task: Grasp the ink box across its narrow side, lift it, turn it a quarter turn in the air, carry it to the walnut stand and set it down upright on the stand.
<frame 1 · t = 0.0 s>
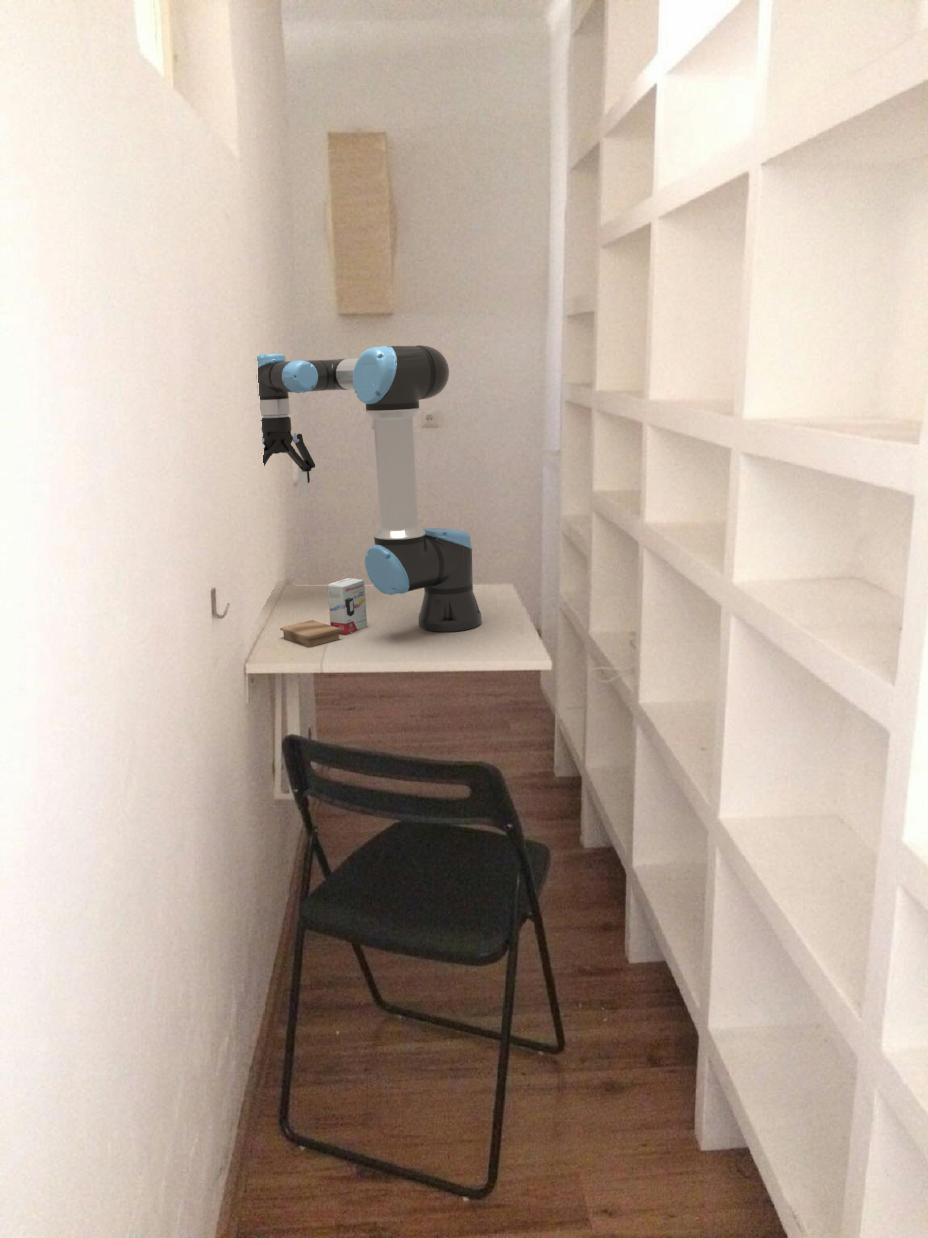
hand: (282, 499, 253), 28 cm above the table, fingers open, 13 cm apart
ink box: (349, 630, 232), on the table
walnut stand: (311, 638, 226), on the table
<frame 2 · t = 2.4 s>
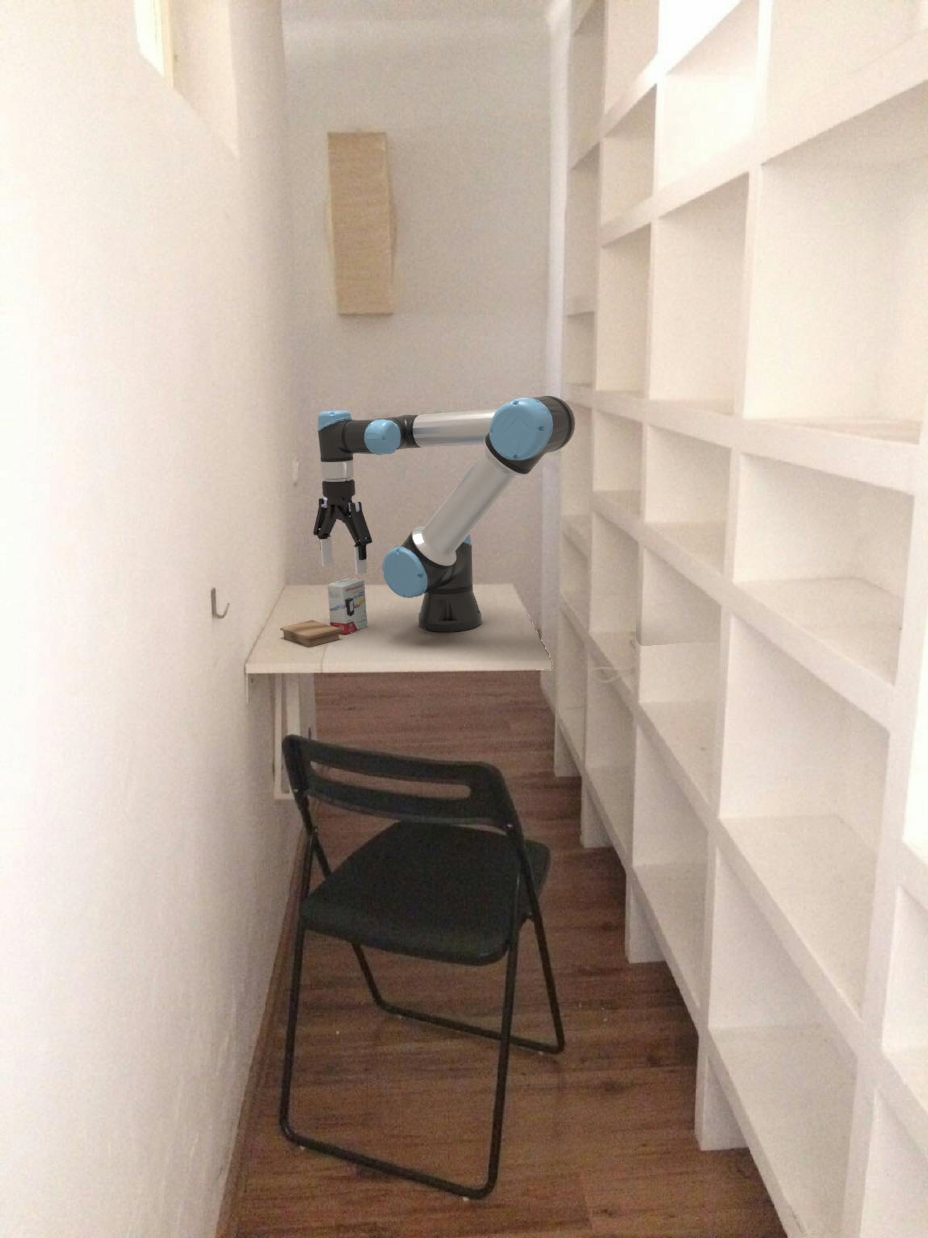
hand: (344, 569, 228), 15 cm above the table, fingers open, 13 cm apart
nothing on the table moved.
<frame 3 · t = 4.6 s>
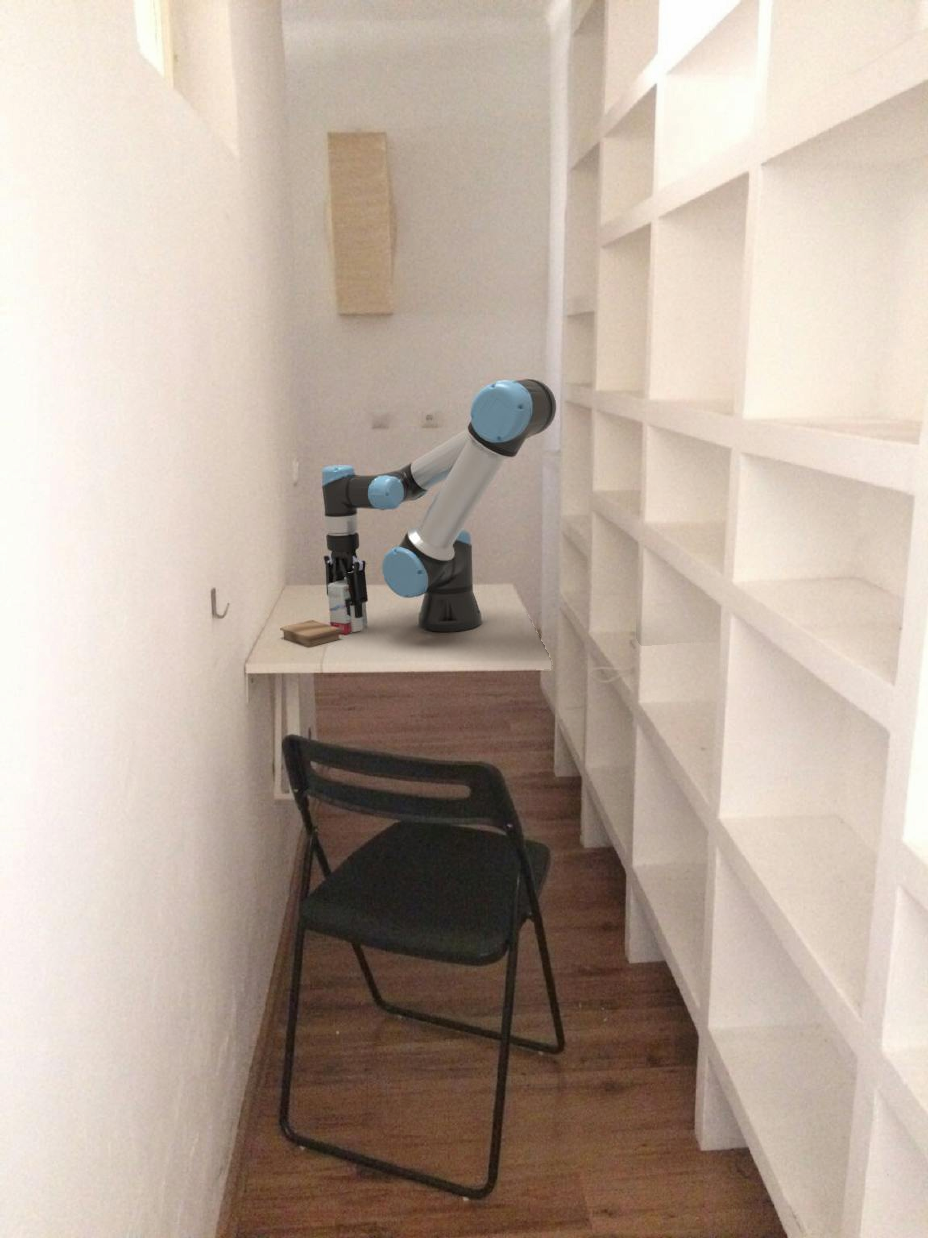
hand: (349, 627, 232), 0 cm above the table, fingers closed on ink box, 6 cm apart
ink box: (349, 630, 232), on the table, touching gripper
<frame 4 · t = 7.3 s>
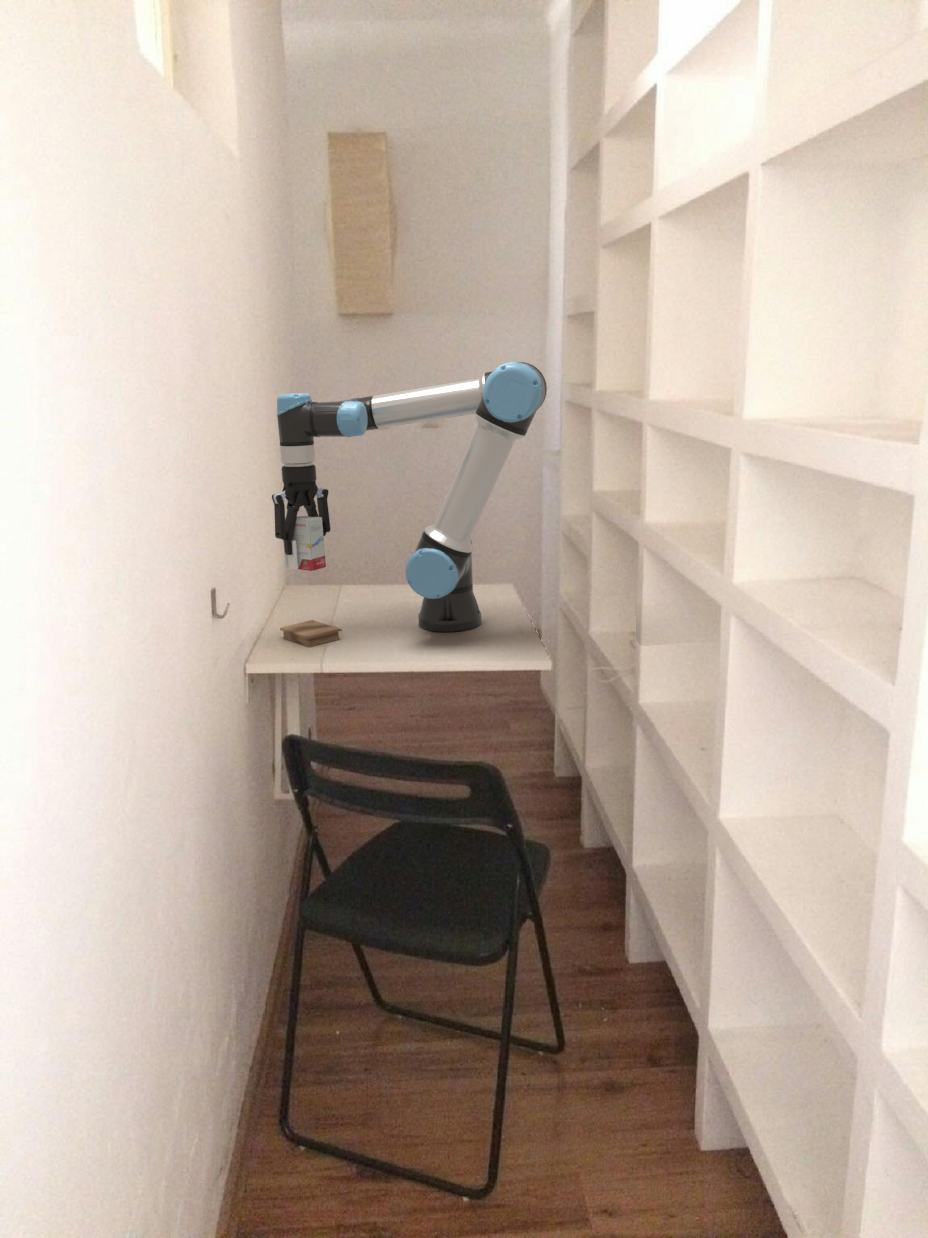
hand: (305, 566, 222), 17 cm above the table, fingers closed on ink box, 6 cm apart
ink box: (305, 568, 222), point 17 cm above the table, touching gripper
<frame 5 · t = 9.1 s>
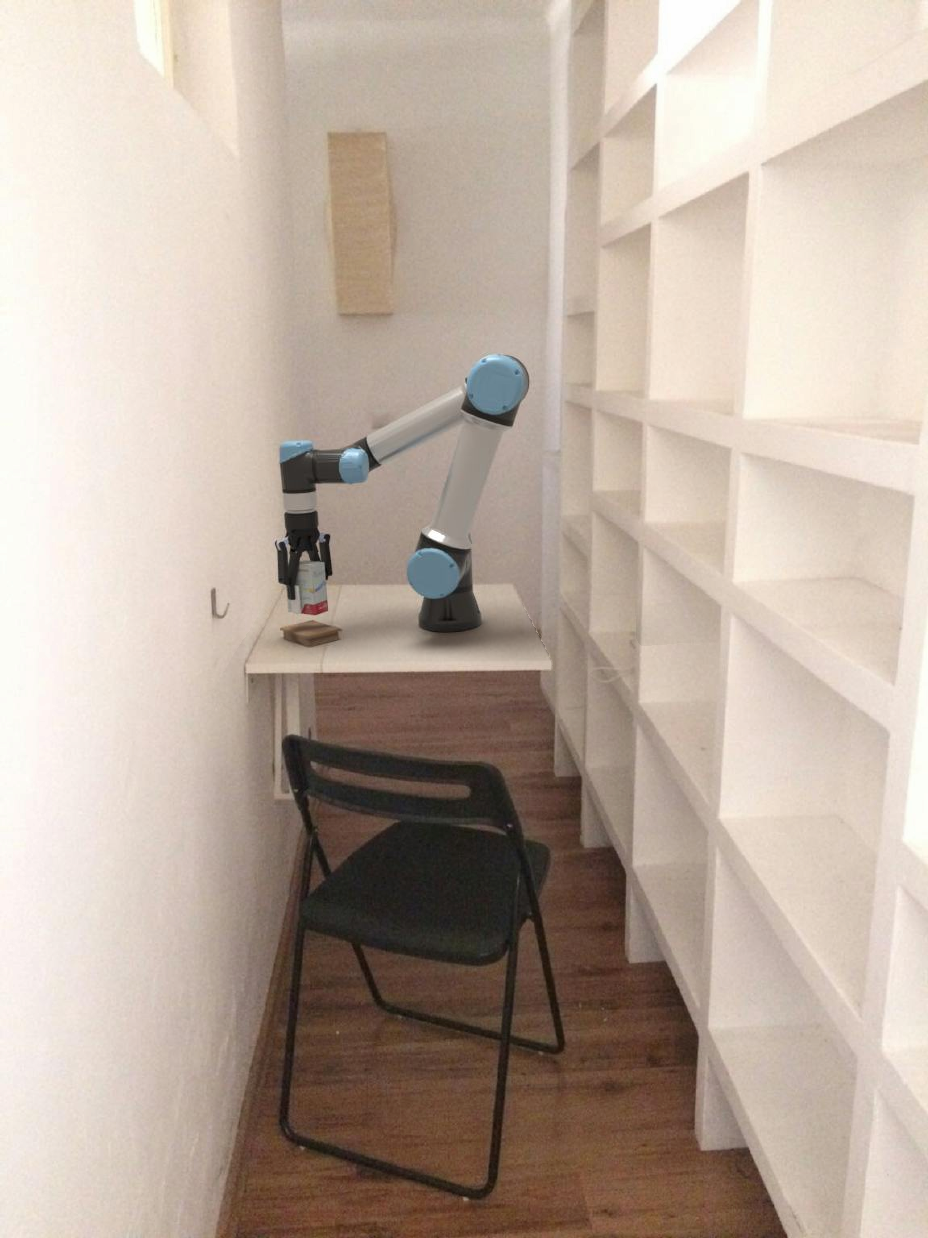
hand: (308, 609, 224), 7 cm above the table, fingers closed on ink box, 6 cm apart
ink box: (308, 612, 224), point 6 cm above the table, touching gripper
when the fingers open (4 cm above the table, at t = 10.4 s): ink box drops 1 cm, resting on walnut stand.
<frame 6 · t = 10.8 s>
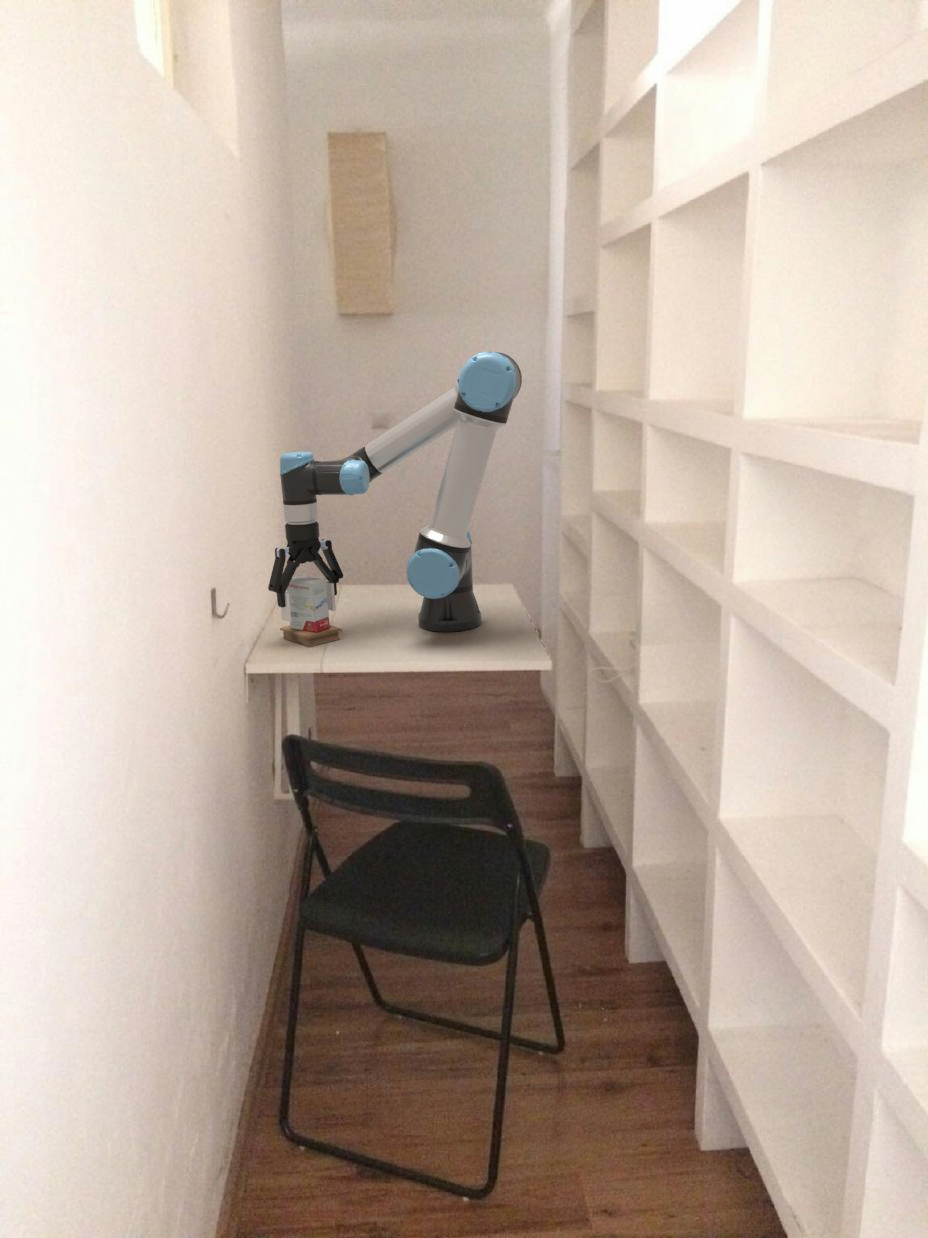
hand: (309, 615, 224), 6 cm above the table, fingers open, 11 cm apart
ink box: (310, 629, 225), point 2 cm above the table, touching walnut stand
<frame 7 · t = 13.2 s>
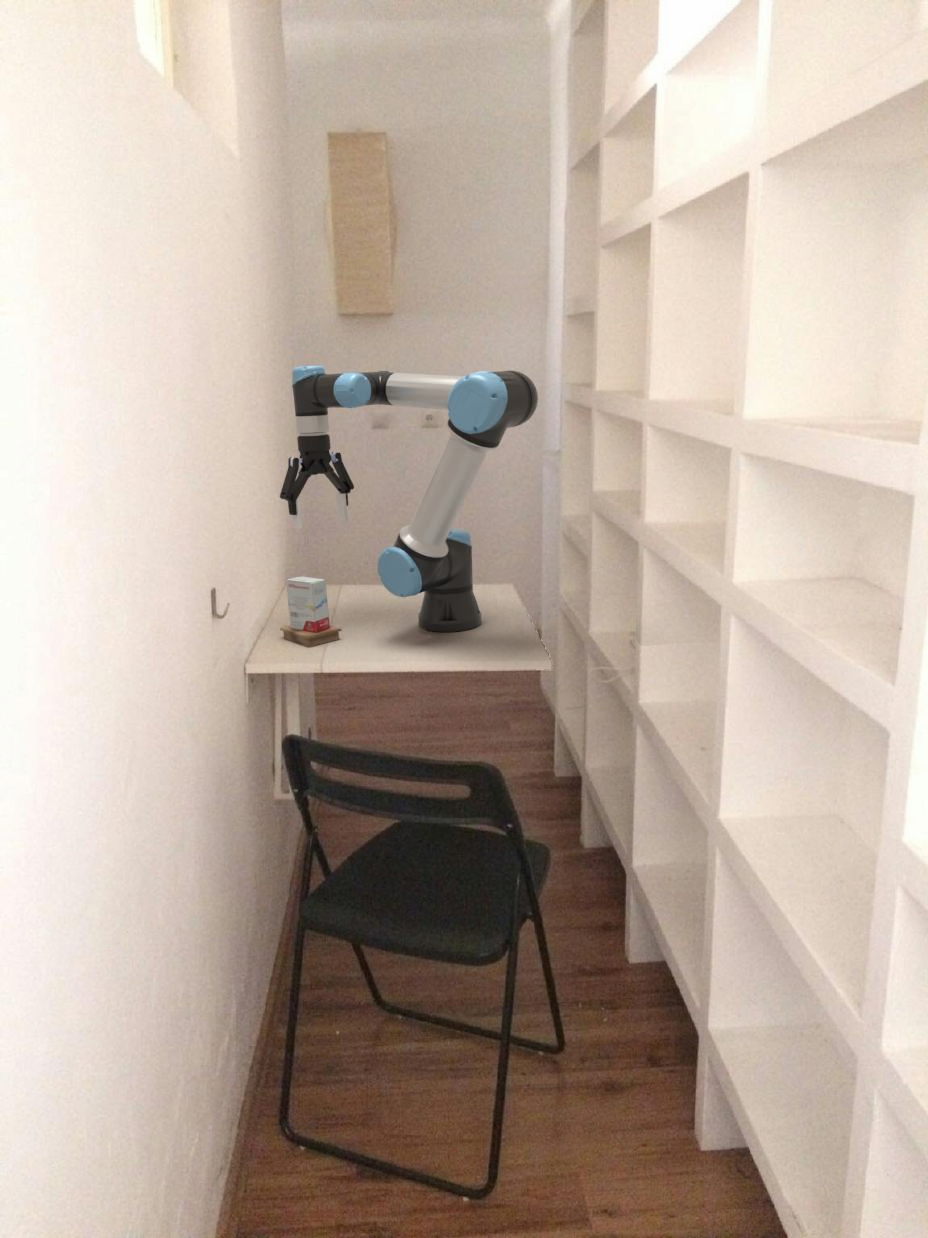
hand: (320, 524, 231), 25 cm above the table, fingers open, 13 cm apart
nothing on the table moved.
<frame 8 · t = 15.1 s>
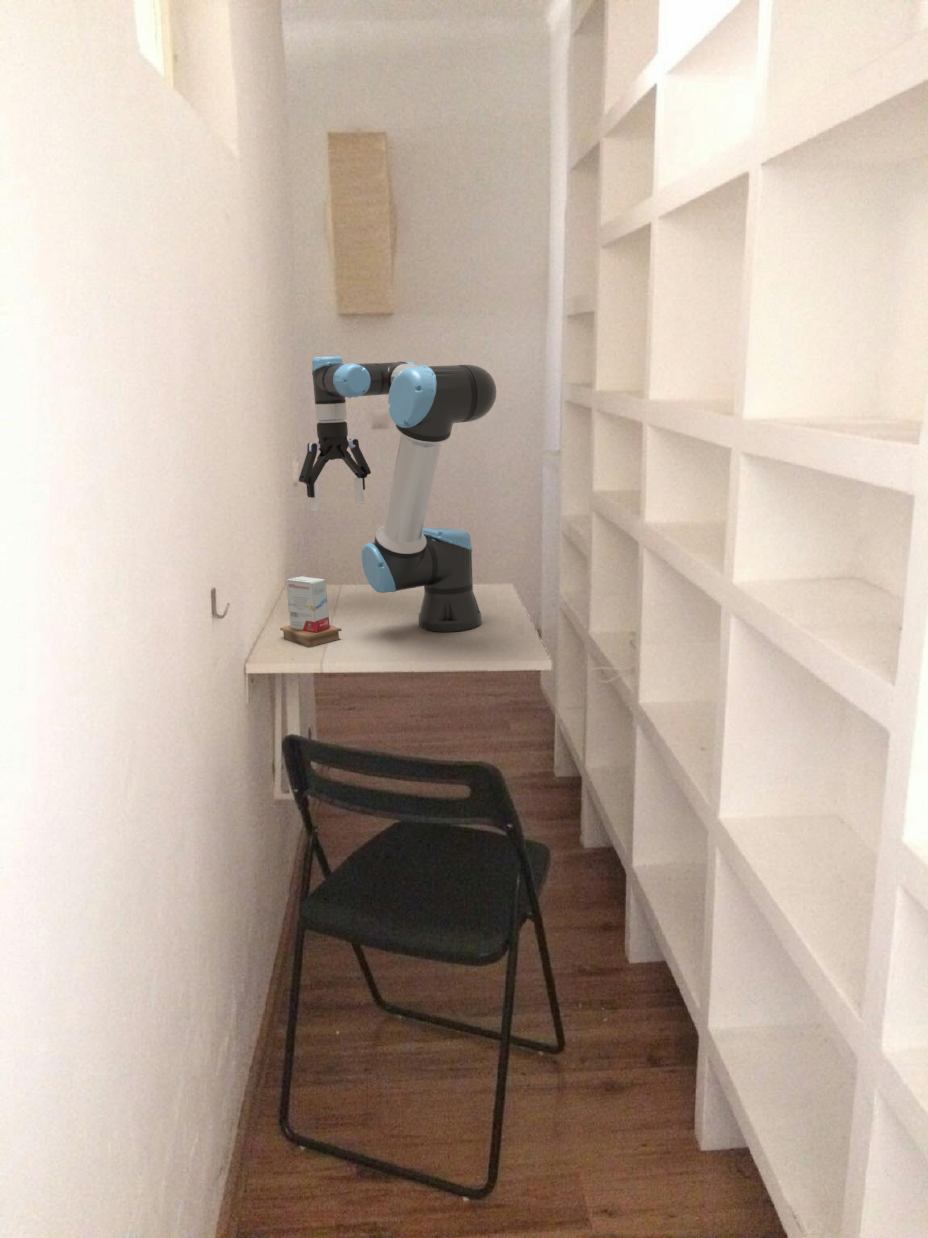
hand: (337, 506, 244), 27 cm above the table, fingers open, 13 cm apart
nothing on the table moved.
at the end: ink box inside the target area on the walnut stand (0.1 cm from its centre), point 2.3 cm above the walnut stand's base; ink box tilted 0°; the gripper is holding nothing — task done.
